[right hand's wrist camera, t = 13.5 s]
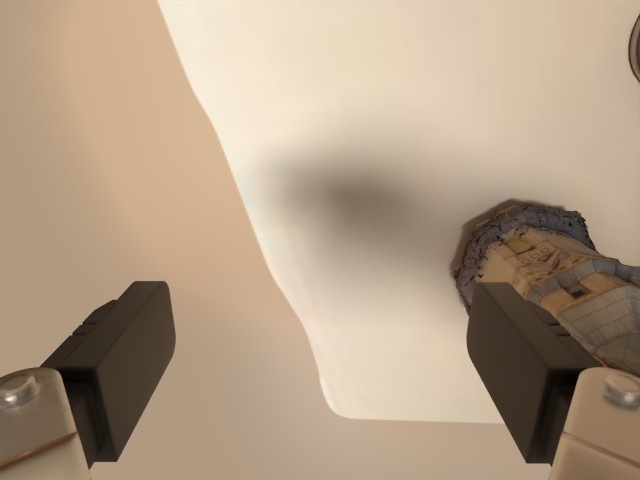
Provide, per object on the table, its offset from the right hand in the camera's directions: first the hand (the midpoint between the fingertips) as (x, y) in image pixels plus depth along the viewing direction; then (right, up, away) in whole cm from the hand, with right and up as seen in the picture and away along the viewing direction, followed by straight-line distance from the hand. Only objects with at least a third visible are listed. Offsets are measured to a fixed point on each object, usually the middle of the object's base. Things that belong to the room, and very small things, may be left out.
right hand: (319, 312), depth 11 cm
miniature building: (+20, 0, +34) cm, 40 cm away
